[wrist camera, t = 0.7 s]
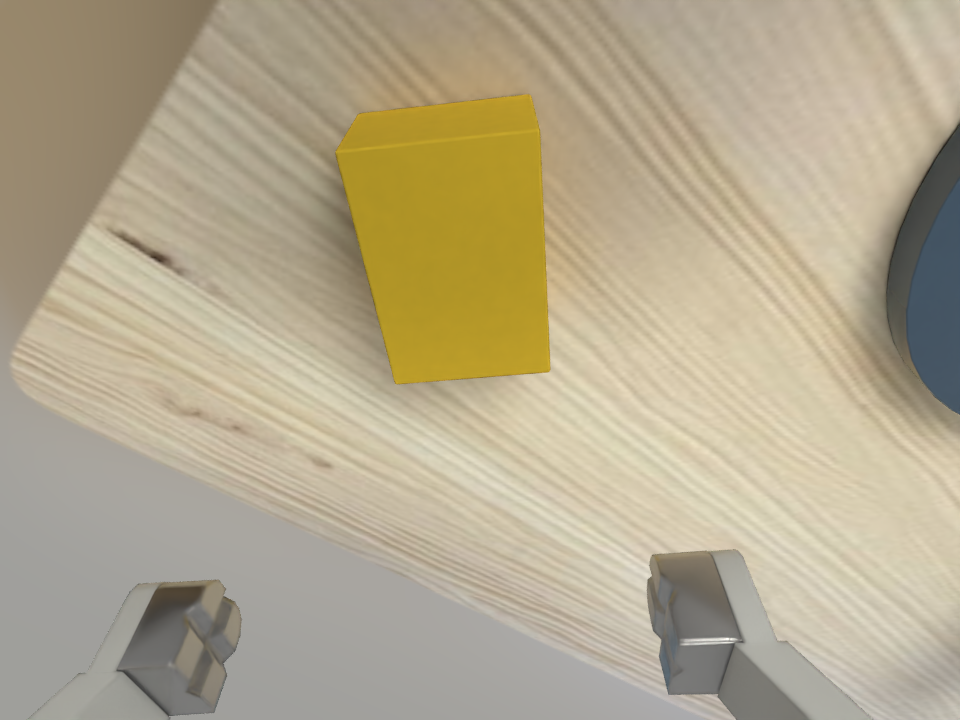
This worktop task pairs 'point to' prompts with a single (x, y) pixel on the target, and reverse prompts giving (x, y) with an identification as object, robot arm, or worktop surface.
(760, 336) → the worktop surface
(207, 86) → the worktop surface
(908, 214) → the plate
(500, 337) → the yellow block
